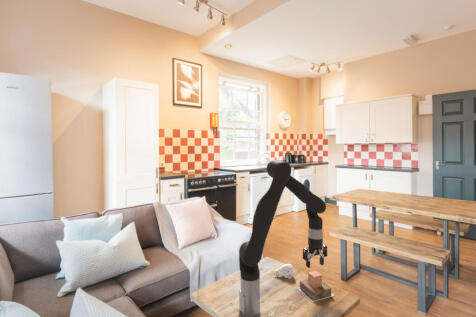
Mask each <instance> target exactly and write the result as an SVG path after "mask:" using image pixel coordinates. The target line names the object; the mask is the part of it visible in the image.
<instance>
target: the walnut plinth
mask: <svg viewBox="0 0 476 317" xmlns="http://www.w3.org/2000/svg"><path fill="white" fill-rule="evenodd" d="M299 287H300V289H301V290H302V291H303V292H305V293H306V294H307V295H308V296H309V297H310V298H312V299H313V300H317V299H321V298H324V297H328V296H331V294H332V288H331V286H329V285H328V284H326V283H325V282H323V281H322V286H320V287H316V288H313V287H312V286H311V285H310V284H308V279H303V280H300V281H299Z"/></svg>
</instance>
